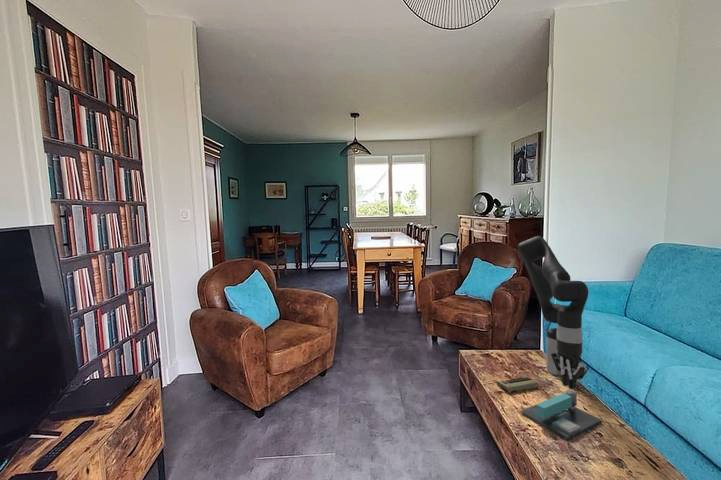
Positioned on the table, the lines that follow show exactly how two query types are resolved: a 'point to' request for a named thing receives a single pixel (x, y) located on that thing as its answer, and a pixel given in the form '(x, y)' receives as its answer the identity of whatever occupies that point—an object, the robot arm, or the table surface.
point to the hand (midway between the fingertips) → (568, 386)
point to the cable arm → (556, 404)
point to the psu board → (565, 421)
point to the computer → (517, 384)
